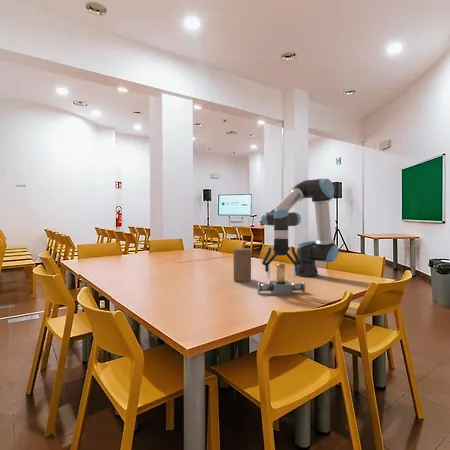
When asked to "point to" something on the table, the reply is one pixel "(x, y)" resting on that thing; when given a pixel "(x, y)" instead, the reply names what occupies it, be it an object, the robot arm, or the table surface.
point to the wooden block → (242, 264)
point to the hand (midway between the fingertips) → (281, 277)
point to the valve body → (281, 288)
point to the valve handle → (280, 273)
